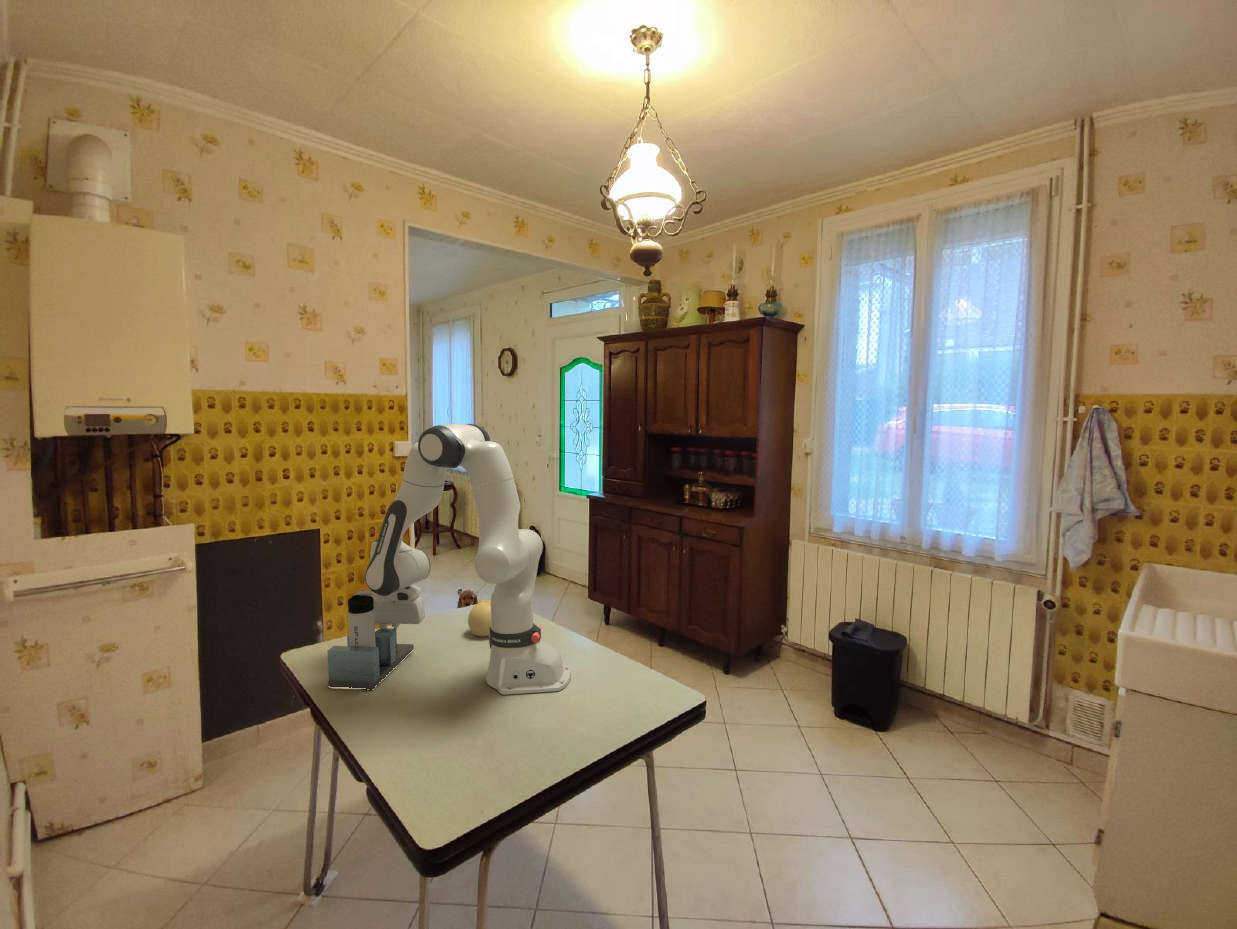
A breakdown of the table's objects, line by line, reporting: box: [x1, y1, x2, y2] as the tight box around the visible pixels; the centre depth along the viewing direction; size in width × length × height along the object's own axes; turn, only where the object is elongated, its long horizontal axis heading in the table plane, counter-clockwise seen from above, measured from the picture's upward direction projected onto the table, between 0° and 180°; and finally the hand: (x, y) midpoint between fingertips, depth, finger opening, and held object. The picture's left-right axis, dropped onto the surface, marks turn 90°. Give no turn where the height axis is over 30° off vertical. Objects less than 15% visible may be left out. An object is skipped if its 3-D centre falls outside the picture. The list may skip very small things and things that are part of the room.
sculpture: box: [467, 598, 491, 637], centre depth 180 cm, size 11×12×11 cm
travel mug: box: [347, 594, 376, 647], centre depth 149 cm, size 6×7×20 cm
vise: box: [326, 643, 415, 690], centre depth 154 cm, size 24×12×10 cm, turn 176°
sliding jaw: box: [346, 627, 398, 665], centre depth 158 cm, size 11×12×8 cm
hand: (390, 637), depth 164 cm, fingers closed, pressing on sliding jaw
